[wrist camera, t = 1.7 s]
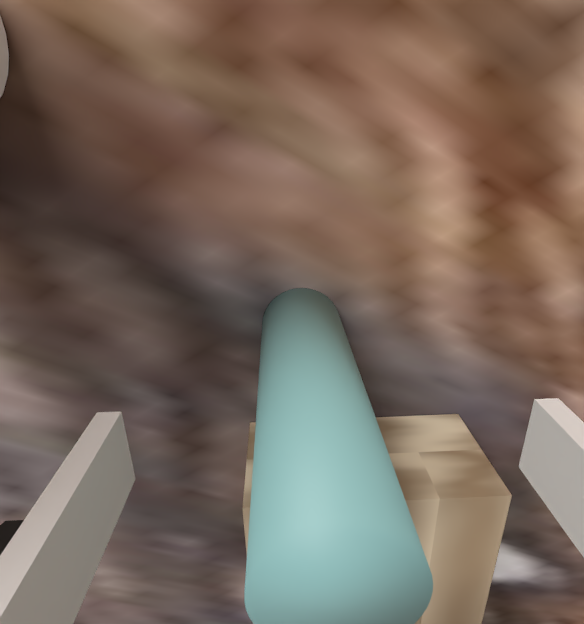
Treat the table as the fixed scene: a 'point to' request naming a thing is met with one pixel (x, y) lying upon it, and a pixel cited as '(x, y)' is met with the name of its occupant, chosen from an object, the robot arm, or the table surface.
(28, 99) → the table surface
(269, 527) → the pin
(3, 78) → the cylindrical container
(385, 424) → the block
